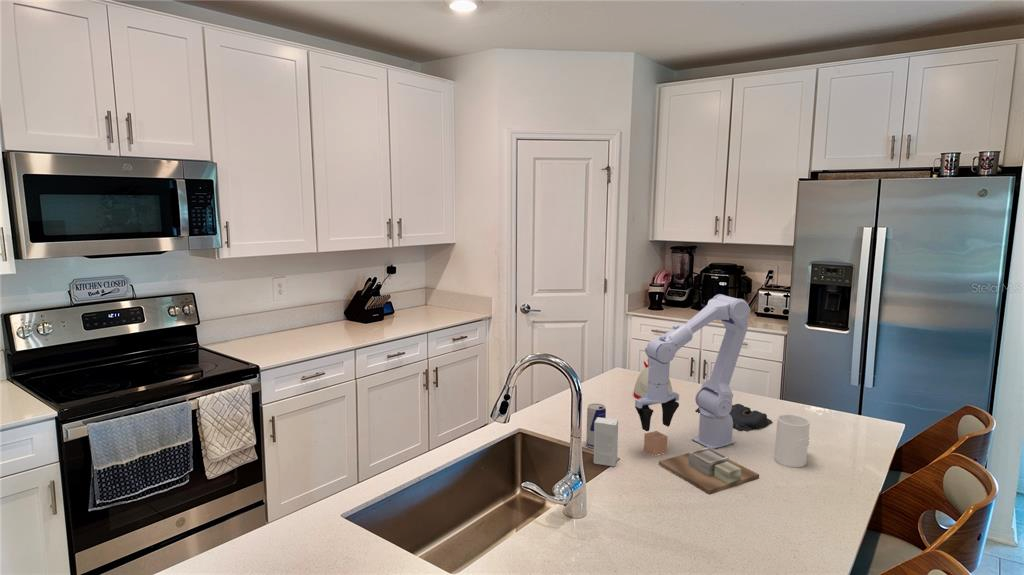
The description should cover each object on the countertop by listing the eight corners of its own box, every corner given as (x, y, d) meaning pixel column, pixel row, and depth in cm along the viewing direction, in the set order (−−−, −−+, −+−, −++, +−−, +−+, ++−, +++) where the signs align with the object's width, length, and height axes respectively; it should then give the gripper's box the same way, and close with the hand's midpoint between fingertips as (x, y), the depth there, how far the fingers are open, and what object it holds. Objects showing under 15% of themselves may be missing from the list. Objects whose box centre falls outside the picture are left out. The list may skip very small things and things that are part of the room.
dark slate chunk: (722, 404, 207) (723, 391, 206) (776, 425, 188) (778, 411, 187) (691, 412, 200) (691, 398, 199) (744, 435, 181) (745, 420, 180)
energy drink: (604, 450, 168) (605, 410, 166) (585, 448, 169) (586, 409, 167) (605, 442, 173) (606, 404, 171) (587, 441, 174) (588, 402, 172)
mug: (819, 459, 163) (823, 418, 161) (797, 470, 156) (801, 428, 154) (791, 448, 170) (794, 409, 168) (768, 459, 163) (771, 418, 161)
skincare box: (617, 460, 162) (619, 419, 160) (615, 467, 158) (616, 425, 156) (595, 457, 164) (597, 416, 162) (592, 463, 160) (594, 422, 158)
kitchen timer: (665, 406, 204) (667, 364, 202) (627, 398, 211) (629, 358, 209) (677, 395, 215) (679, 355, 213) (641, 388, 223) (643, 350, 221)
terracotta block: (655, 447, 171) (656, 430, 170) (666, 452, 167) (667, 436, 166) (643, 450, 169) (644, 433, 168) (654, 456, 165) (655, 439, 164)
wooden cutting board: (706, 451, 168) (707, 436, 167) (759, 478, 152) (760, 461, 151) (658, 464, 159) (659, 448, 158) (708, 494, 144) (710, 476, 143)
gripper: (667, 374, 171) (665, 418, 173) (628, 381, 165) (626, 427, 167) (685, 381, 165) (682, 426, 167) (645, 388, 158) (643, 436, 160)
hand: (656, 427), depth 167 cm, fingers open, 7 cm apart
